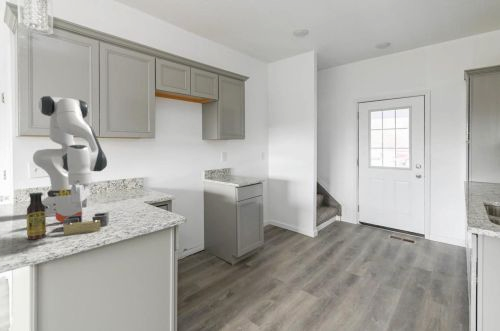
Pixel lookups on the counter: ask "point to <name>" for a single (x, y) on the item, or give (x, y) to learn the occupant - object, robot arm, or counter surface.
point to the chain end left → (72, 219)
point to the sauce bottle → (36, 217)
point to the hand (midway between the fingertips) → (82, 209)
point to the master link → (82, 227)
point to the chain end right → (102, 218)
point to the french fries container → (64, 206)
